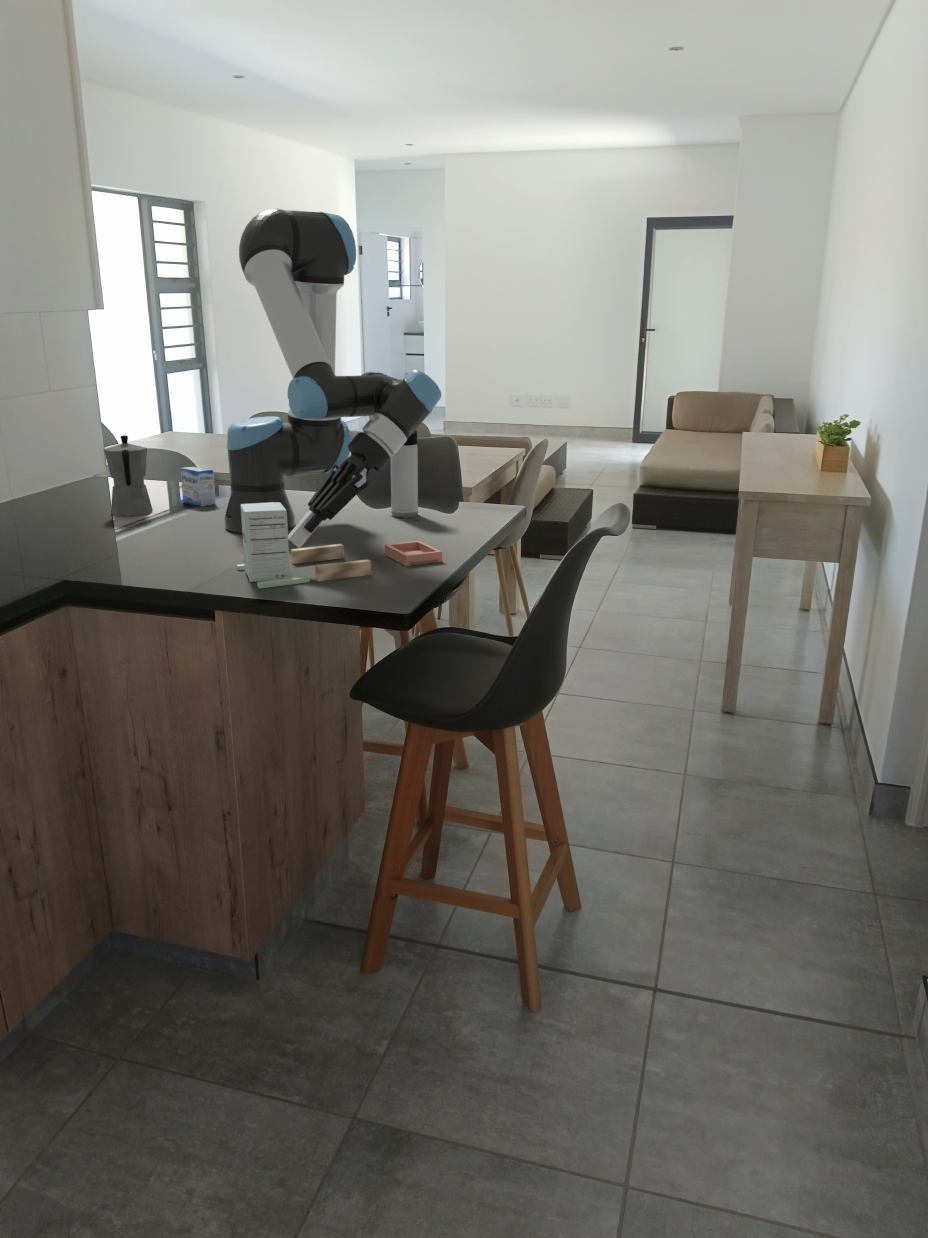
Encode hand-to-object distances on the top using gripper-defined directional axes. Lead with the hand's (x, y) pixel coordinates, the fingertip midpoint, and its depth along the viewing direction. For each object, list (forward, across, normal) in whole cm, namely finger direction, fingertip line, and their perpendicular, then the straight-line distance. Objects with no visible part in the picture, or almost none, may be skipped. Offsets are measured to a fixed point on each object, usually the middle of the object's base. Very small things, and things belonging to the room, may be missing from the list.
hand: (292, 542), depth 166 cm
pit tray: (-13, 0, +21) cm, 25 cm away
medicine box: (+4, -73, +4) cm, 73 cm away
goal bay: (+7, 0, +1) cm, 7 cm away
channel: (-2, 0, +10) cm, 10 cm away
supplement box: (+8, 0, +1) cm, 8 cm away
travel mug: (-24, -37, +32) cm, 55 cm away
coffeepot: (+16, -67, -8) cm, 70 cm away
